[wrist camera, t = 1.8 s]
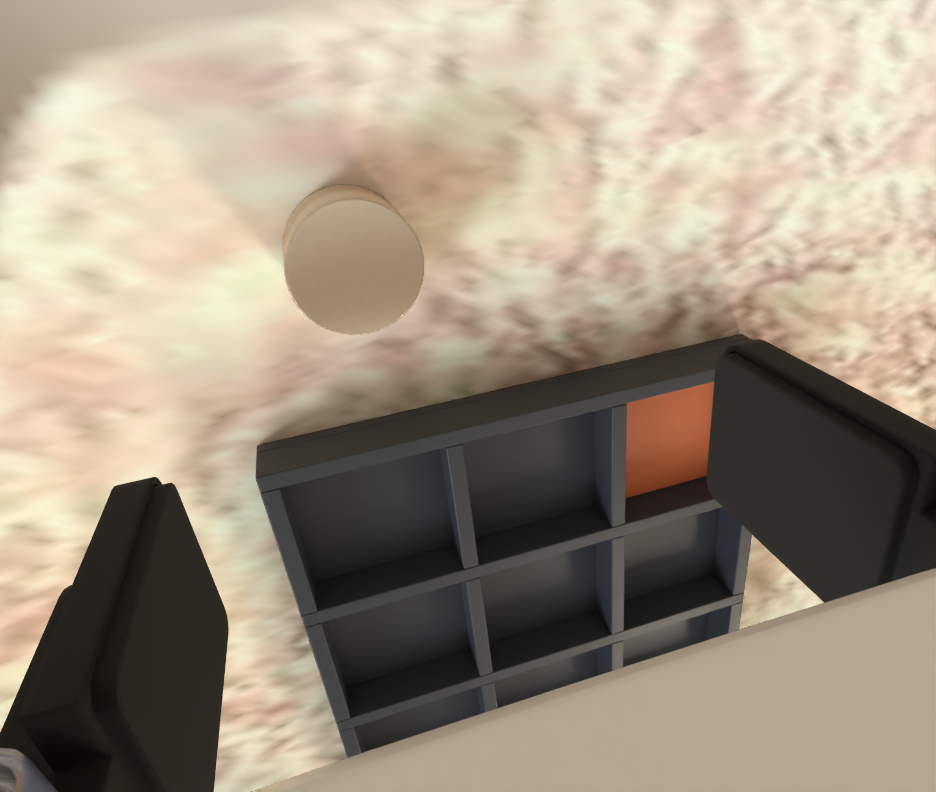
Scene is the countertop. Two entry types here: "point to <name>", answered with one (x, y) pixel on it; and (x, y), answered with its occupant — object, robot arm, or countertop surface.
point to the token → (351, 260)
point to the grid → (506, 541)
